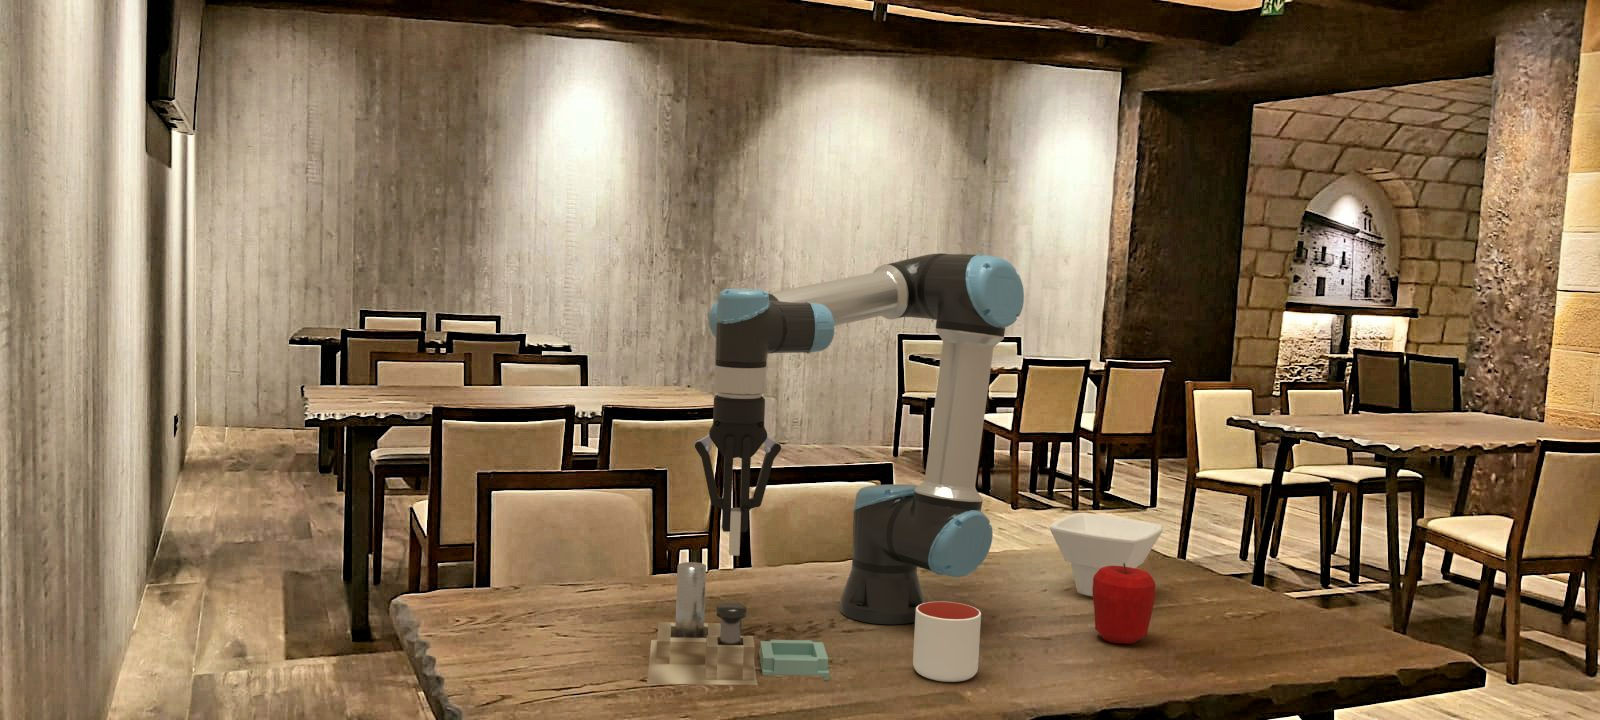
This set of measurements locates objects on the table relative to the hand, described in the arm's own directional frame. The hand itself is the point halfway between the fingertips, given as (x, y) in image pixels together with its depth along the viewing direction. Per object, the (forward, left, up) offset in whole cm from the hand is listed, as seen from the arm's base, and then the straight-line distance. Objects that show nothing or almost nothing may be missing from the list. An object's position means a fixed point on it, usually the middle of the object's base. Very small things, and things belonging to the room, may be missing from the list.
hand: (734, 553), depth 189 cm
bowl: (-73, -50, -19) cm, 91 cm away
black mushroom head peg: (0, 0, -17) cm, 17 cm away
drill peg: (+6, -9, -18) cm, 21 cm away
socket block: (+5, -6, -19) cm, 21 cm away
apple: (-67, -22, -19) cm, 74 cm away
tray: (-10, -5, -19) cm, 22 cm away
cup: (-33, -4, -19) cm, 39 cm away
